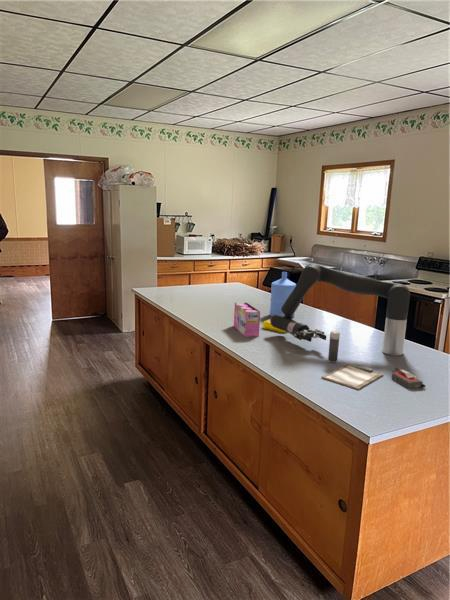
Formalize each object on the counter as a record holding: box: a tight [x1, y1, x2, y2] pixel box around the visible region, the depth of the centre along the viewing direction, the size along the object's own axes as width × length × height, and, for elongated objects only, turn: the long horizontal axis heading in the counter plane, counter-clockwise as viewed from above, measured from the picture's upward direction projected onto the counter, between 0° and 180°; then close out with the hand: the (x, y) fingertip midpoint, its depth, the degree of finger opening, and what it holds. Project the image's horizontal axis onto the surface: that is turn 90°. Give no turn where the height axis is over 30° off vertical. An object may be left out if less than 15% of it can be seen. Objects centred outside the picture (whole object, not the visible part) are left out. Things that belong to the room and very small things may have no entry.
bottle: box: [327, 330, 341, 364], centre depth 193 cm, size 4×4×14 cm
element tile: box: [262, 318, 287, 334], centre depth 248 cm, size 15×15×5 cm
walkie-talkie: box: [391, 367, 426, 390], centre depth 176 cm, size 9×4×20 cm
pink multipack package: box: [233, 302, 261, 338], centre depth 240 cm, size 24×8×14 cm, turn 15°
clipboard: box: [320, 363, 385, 391], centre depth 177 cm, size 22×16×2 cm
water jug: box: [269, 271, 297, 318], centre depth 275 cm, size 16×16×28 cm
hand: (318, 338), depth 203 cm, fingers open, 8 cm apart
